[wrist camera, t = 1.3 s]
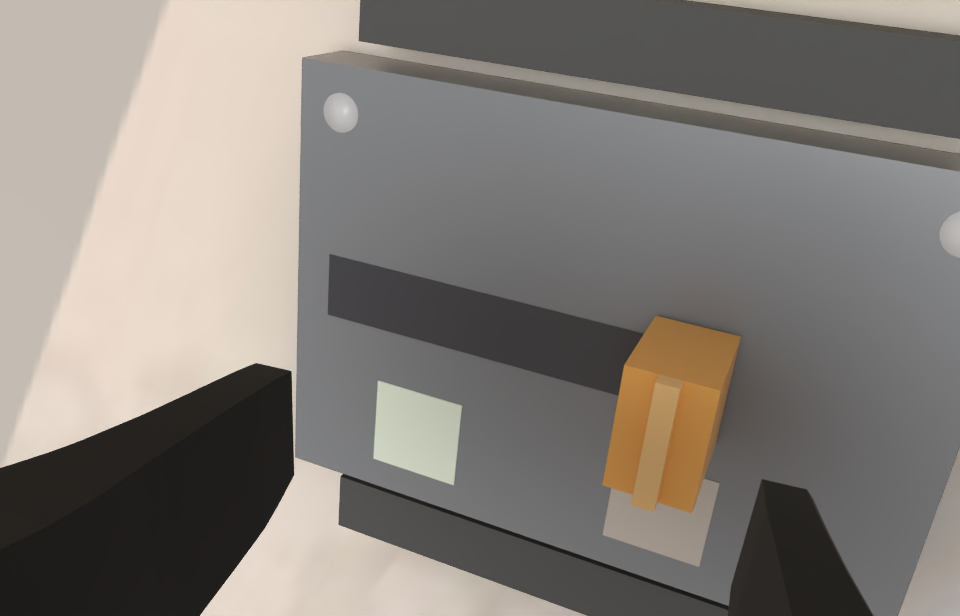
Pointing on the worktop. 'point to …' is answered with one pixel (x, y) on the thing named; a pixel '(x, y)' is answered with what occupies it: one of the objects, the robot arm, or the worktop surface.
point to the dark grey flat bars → (669, 67)
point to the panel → (622, 311)
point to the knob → (669, 413)
